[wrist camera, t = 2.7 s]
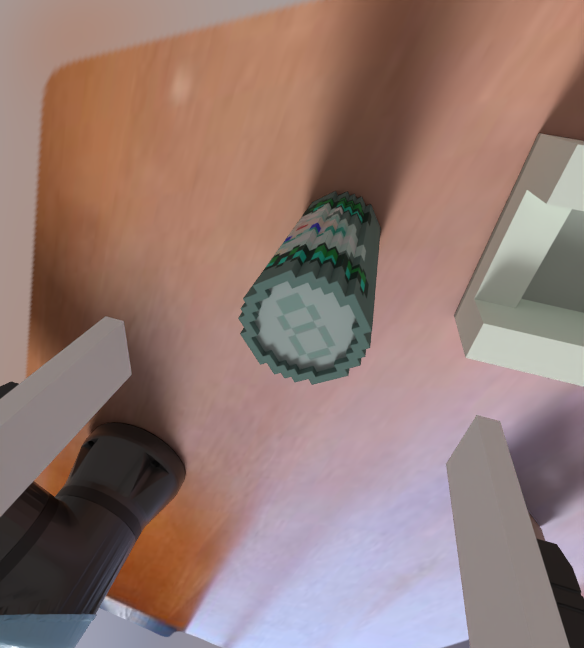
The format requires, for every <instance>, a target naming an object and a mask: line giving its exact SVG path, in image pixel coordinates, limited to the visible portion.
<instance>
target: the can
mask: <svg viewBox="0 0 584 648" xmlns="http://www.w3.org/2000/svg"><path fill="white" fill-rule="evenodd" d="M380 230H381V228H380V225H379V223H378V220H377V218H376V215H375V213H374V210H373V208H372V206H371V204H370V205H368V206H366V205H365V203H364V201H363V198H362V197H360V198H356V196H355V194H353V195H351V196H349V193H348V191H347V192H345V193H343V194H341V195H339V196H338V195H337V193H336V191H335V192H333V193H330V194H328V195H326V196H324V197H322V198H320V199H318V200H316V201H314V202H312V204H311V205H310V206H309V208H308V209H307V211H306V212H305V213H304V214H303V216H302V217H301V219H300V220H299V221H298V223H297V224H296V226H295V227H294V228H293V230H292V231H291V233H290V234H289V235H288V237H287V238H286V240H285V241H284V242H283V244H282V245H281V247H280V248H279V249H278V251H277V252H276V254H275V255H274V256H273V258H272V259H271V261H270V262H269V263H268V265H267V266H266V268H265V269H264V270H263V272H262V273H261V275H260V276H259V277H258V279H257V280H256V282H255V283H254V284H253V286H252V287H251V288H250V290H249V291H248V293H247V294H246V295H245V297H244V298H243V300H244V301H245V303H244V304H243V306H242V307H241V310H242V313H241V315H240V316H239V318H238V319H239V320H240V322H241V323H242V325H243V326H244V328H243V330H242V331H241V333H240V334H241V336H242V337H243V339H244V340H245V342H246V343H247V345H248V347H249V348H250V350H251V351H252V353H253V354H254V356H255V357H256V359H257V360H258V362H259V363H260V365H261V364H264V363H267V364H268V365H269V367H270V368H271V370H272V372H273V373H274V374H278V373H281V374H282V375H283V377H284V378H288V377H292V379H293V380H294V382H298V381H302V380H306V379H309V381H310V382H311V384H312V385H313V384H317V383H321V382H325V381H329V380H333V379H337V378H341V377H345V376H348V374H349V368H352V367H356V366H360V365H361V358H362V357H365V354H366V349H368V348H370V343H371V332H372V324H373V312H374V300H375V288H376V277H377V265H378V253H379V241H380Z"/></svg>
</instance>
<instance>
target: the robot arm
mask: <svg viewBox="0 0 584 648" xmlns="http://www.w3.org/2000/svg"><path fill="white" fill-rule="evenodd" d="M131 375H132V372H131V366H130V359H129V352H128V346H127V339H126V333H125V326H124V321H122V320H118V319H114V318H110V317H107V316H105V317H104V318H103V319H101V320H100V321H99V322H98V323H96V324H95V325H94V326H92V327H91V328H90V329H89V330H87V331H86V332H85V333H84V334H82V335H81V336H80V337H78V338H77V339H76V340H75V341H73V342H72V343H71V344H70V345H68V346H67V347H66V348H64V349H63V350H62V351H61V352H59V353H58V354H57V355H56V356H54V357H53V358H52V359H50V360H49V361H48V362H47V363H45V364H44V365H43V366H42V367H40V368H39V369H38V370H37V371H35V372H34V373H33V374H31V375H30V376H29V377H28V378H26V379H25V380H24V381H23V382H21V383H20V384H18V383H14V382H9V383H7V384H5V385H3V386H0V648H74V647H75V646H76V644H77V643H78V642H79V640H80V638H81V637H82V635H83V634H84V632H85V631H86V629H87V628H88V626H89V624H90V623H91V621H93V620H94V619H95V617H96V612H97V611H98V609H99V607H100V605H101V603H102V602H103V600H104V598H105V596H106V594H107V593H108V591H109V589H110V587H111V586H112V584H113V582H114V580H115V578H116V577H117V575H118V573H119V571H120V569H121V568H122V566H123V564H124V562H125V561H126V559H127V557H128V555H129V553H130V552H131V550H132V548H133V546H134V544H135V542H136V541H137V539H138V537H139V535H140V534H141V532H142V530H143V529H144V528H145V526H146V525H147V524H148V523H149V522H150V521H151V520H152V519H153V518H154V517H155V516H156V515H157V514H158V513H159V512H160V511H161V510H162V509H163V508H164V507H165V506H166V505H167V504H168V503H169V502H170V501H171V500H172V499H173V498H174V497H175V496H176V495H177V493H178V491H179V489H180V488H181V486H182V484H183V482H184V479H185V470H184V467H183V464H182V462H181V460H180V459H179V457H178V456H177V455H176V453H175V452H174V451H173V450H172V449H171V448H170V447H169V446H168V445H167V444H165V443H164V442H163V441H162V440H160V439H159V438H157V437H156V436H154V435H152V434H150V433H149V432H147V431H145V430H142V429H140V428H137V427H134V426H131V425H127V424H122V423H107V424H103V425H100V426H98V427H97V428H96V429H95V430H94V431H93V432H92V433H91V434H90V435H89V437H88V438H87V439H86V440H85V442H84V443H83V445H82V447H81V449H80V452H79V454H78V456H77V459H76V461H75V463H74V466H73V468H72V470H71V473H70V475H69V477H68V480H67V482H66V484H65V485H64V486H63V488H62V489H61V490H60V491H59V493H58V494H57V495H56V496H55V497H54V496H53V495H51V494H50V493H49V492H47V491H46V490H45V489H43V488H42V487H41V486H39V485H38V484H37V483H36V482H34V480H35V479H36V478H37V477H38V476H39V474H40V473H41V472H42V471H43V470H44V469H45V468H46V467H47V466H48V465H49V464H50V463H51V461H52V460H53V459H54V458H55V457H56V456H57V455H58V454H59V453H60V452H61V451H62V450H63V448H64V447H65V446H66V445H67V444H68V443H69V442H70V441H71V440H72V439H73V438H74V437H75V435H76V434H77V433H78V432H79V431H80V430H81V429H82V428H83V427H84V426H85V425H86V424H87V422H88V421H89V420H90V419H91V418H92V417H93V416H94V415H95V414H96V413H97V412H98V411H99V409H100V408H101V407H102V406H103V405H104V404H105V403H106V402H107V401H108V400H109V399H110V397H111V396H112V395H113V394H114V393H115V392H116V391H117V390H118V389H119V388H120V387H121V386H122V384H123V383H124V382H125V381H126V380H127V379H128V378H129V377H130V376H131ZM446 466H447V474H448V482H449V489H450V497H451V505H452V512H453V520H454V528H455V535H456V543H457V551H458V558H459V566H460V574H461V581H462V589H463V597H464V604H465V612H466V620H467V627H468V635H469V643H470V648H584V598H583V596H581V590H580V587H579V584H578V581H577V579H576V576H575V573H574V570H573V568H572V566H571V565H570V563H569V562H568V560H567V559H566V557H565V556H564V554H563V553H562V551H561V550H560V548H559V547H558V545H557V544H554V543H550V542H547V541H544V540H540V539H537V538H536V536H535V533H534V530H533V527H532V523H531V520H530V517H529V514H528V510H527V507H526V504H525V501H524V497H523V494H522V491H521V488H520V484H519V481H518V478H517V475H516V471H515V468H514V465H513V462H512V459H511V455H510V452H509V449H508V446H507V442H506V439H505V436H504V433H503V429H502V426H501V423H500V421H497V420H493V419H489V418H486V417H482V416H478V415H476V417H475V419H474V420H473V422H472V423H471V425H470V427H469V428H468V430H467V431H466V433H465V435H464V436H463V438H462V439H461V441H460V443H459V444H458V446H457V447H456V449H455V451H454V452H453V454H452V455H451V457H450V459H449V460H448V462H447V463H446Z"/></svg>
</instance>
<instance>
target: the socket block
mask: <svg viewBox="0 0 584 648" xmlns="http://www.w3.org/2000/svg"><path fill="white" fill-rule="evenodd" d="M454 317H455V321H456V324H457V328H458V332H459V335H460V339H461V343H462V346H463V350H464V354H465V357H466V358H469V359H473V360H477V361H481V362H485V363H490V364H494V365H498V366H502V367H506V368H510V369H514V370H518V371H522V372H526V373H530V374H534V375H538V376H543V377H547V378H551V379H555V380H559V381H563V382H567V383H571V384H575V385H579V386H583V387H584V141H582V140H576V139H571V138H565V137H559V136H553V135H548V134H542V133H538V135H537V138H536V140H535V142H534V144H533V146H532V148H531V151H530V153H529V155H528V157H527V159H526V161H525V163H524V166H523V168H522V170H521V172H520V174H519V176H518V179H517V181H516V183H515V185H514V187H513V189H512V191H511V194H510V196H509V198H508V200H507V202H506V204H505V207H504V209H503V211H502V213H501V215H500V217H499V220H498V222H497V224H496V226H495V228H494V230H493V232H492V235H491V237H490V239H489V241H488V243H487V245H486V248H485V250H484V252H483V254H482V256H481V258H480V261H479V263H478V265H477V267H476V269H475V271H474V273H473V276H472V278H471V280H470V282H469V284H468V286H467V289H466V291H465V293H464V295H463V297H462V299H461V302H460V304H459V306H458V308H457V310H456V312H455V314H454Z"/></svg>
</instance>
